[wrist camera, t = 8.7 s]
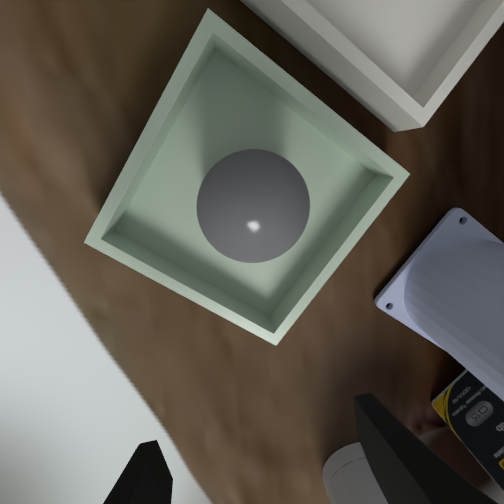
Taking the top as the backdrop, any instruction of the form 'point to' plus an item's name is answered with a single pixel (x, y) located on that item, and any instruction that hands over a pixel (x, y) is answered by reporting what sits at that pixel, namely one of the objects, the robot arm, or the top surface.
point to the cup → (351, 478)
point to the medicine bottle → (475, 421)
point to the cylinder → (253, 206)
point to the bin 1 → (221, 145)
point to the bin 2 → (388, 47)
